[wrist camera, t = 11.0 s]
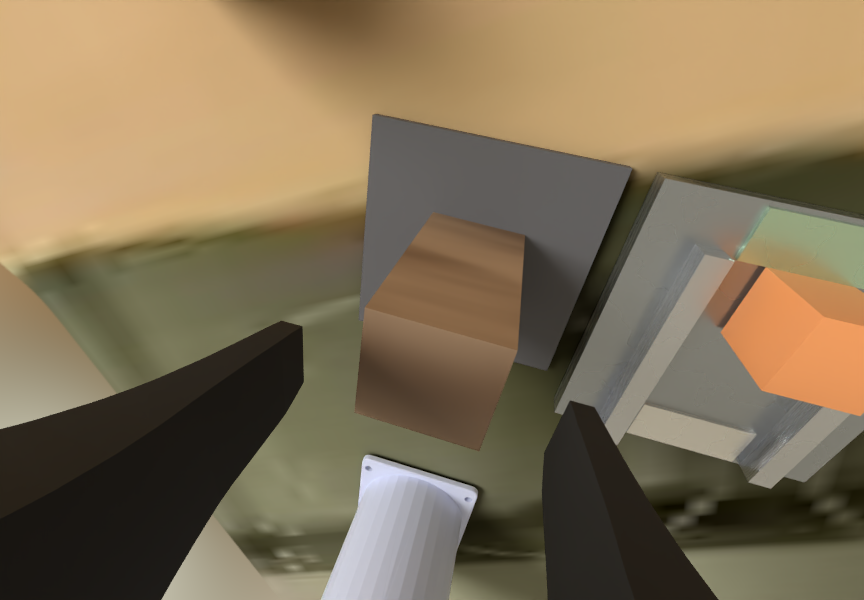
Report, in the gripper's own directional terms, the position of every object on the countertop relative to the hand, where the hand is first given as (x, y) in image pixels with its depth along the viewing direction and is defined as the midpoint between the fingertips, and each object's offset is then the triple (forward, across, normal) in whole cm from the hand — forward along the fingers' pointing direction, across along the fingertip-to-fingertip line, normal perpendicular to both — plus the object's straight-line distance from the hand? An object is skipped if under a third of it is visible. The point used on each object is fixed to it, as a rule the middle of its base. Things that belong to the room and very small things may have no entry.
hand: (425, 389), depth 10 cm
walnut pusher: (+8, 0, 0) cm, 8 cm away
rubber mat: (+9, 0, 0) cm, 9 cm away
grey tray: (+9, -12, +1) cm, 15 cm away
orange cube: (+8, -12, -1) cm, 14 cm away
